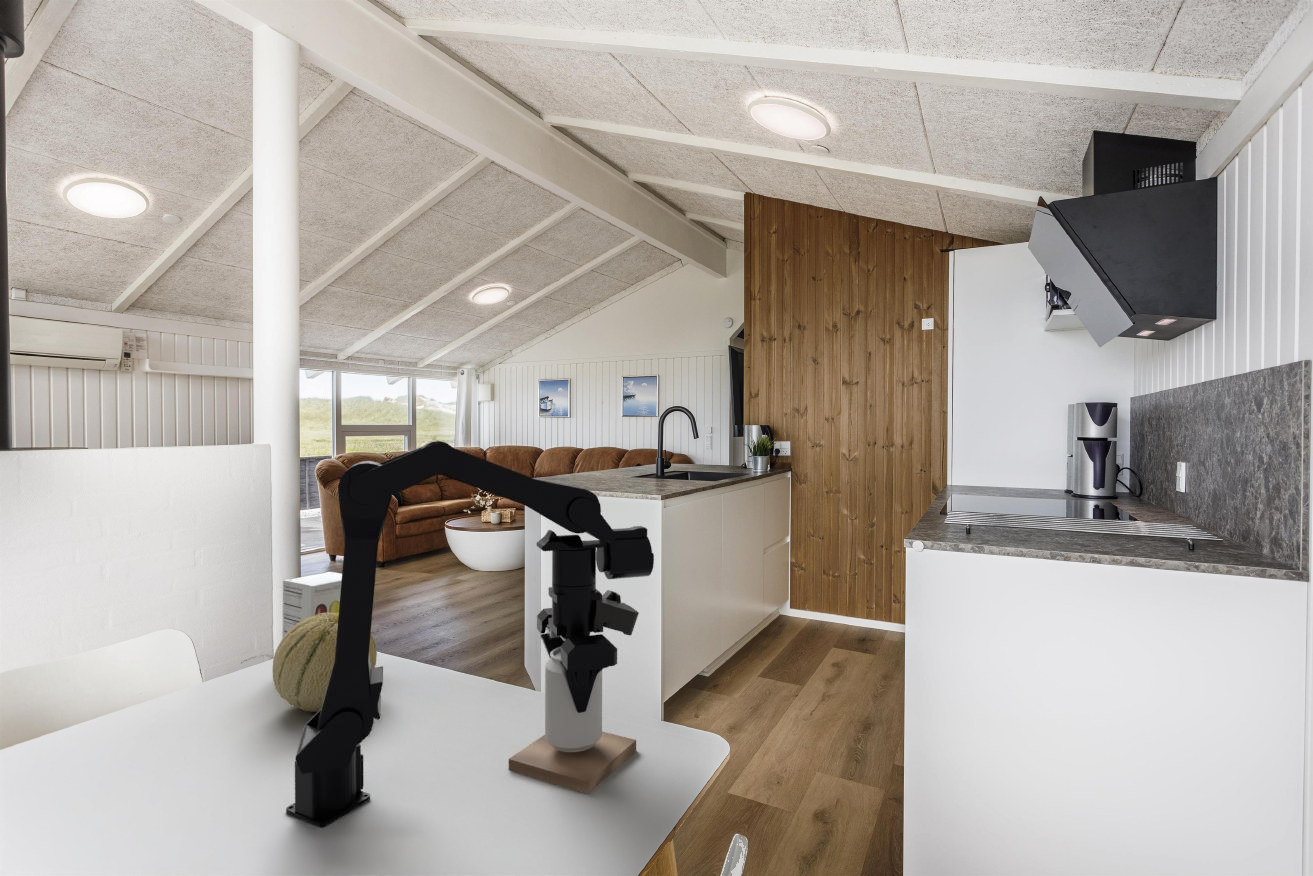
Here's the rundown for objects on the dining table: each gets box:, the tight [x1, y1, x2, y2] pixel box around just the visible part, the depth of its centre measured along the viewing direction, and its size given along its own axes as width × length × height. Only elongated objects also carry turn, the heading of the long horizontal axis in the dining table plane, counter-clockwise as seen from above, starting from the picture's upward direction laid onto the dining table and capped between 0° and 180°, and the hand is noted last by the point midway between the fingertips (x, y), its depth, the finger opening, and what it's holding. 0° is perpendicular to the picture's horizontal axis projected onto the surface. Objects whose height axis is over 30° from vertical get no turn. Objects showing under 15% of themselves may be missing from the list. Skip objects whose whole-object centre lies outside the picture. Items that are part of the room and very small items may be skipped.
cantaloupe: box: [272, 612, 378, 713], centre depth 103 cm, size 15×15×15 cm
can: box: [544, 647, 603, 752], centre depth 87 cm, size 8×8×12 cm
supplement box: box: [282, 571, 342, 638], centre depth 119 cm, size 10×9×17 cm
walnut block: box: [508, 731, 637, 795], centre depth 87 cm, size 12×12×2 cm
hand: (573, 700), depth 87 cm, fingers closed on can, 7 cm apart
